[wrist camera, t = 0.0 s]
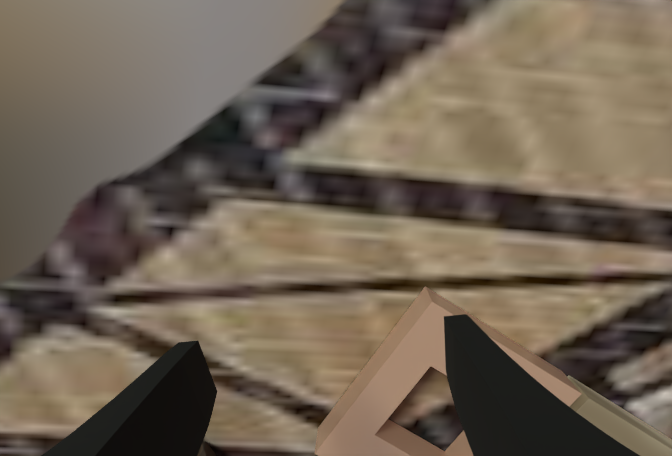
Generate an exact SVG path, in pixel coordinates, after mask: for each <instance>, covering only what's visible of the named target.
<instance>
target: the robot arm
mask: <svg viewBox="0 0 672 456" xmlns="http://www.w3.org/2000/svg"><path fill="white" fill-rule="evenodd" d="M444 334H445V361H446V374H447V378H448V382H449V386H450V390H451V393H452V397H453V401H454V405H455V408H456V411H457V413H458V416H459V419H460V422H461V424H462V427H463V429H464V432H465V435H466V437H467V440H468V443H469V445H470V448H471V451H472V453H473V456H640V455H638V454H637V453H635V452H634V451H632V450H630V449H629V448H627V447H626V446H624V445H622V444H621V443H619V442H618V441H616V440H615V439H613V438H612V437H610V436H609V435H608V434H606V433H605V432H603V431H602V430H600V429H599V428H597V427H596V426H595V425H593V424H592V423H590V422H589V421H588V420H586V419H585V418H584V417H582V416H581V415H579V414H578V413H577V412H575V411H574V410H573V409H571V408H570V407H569V406H568V405H566V404H565V403H564V402H562V401H561V400H560V399H559V398H557V397H556V396H555V395H554V394H552V393H551V392H550V391H549V390H548V389H546V388H545V387H544V386H543V385H541V384H540V383H539V382H538V381H537V380H536V379H534V378H533V377H532V376H531V375H530V374H529V373H527V372H526V371H525V370H524V369H523V368H522V367H521V366H520V365H519V364H517V363H516V362H515V361H514V360H513V359H512V358H511V357H510V356H509V355H507V354H506V353H505V352H504V351H503V350H502V349H501V348H500V347H499V346H498V345H497V344H496V343H495V342H494V341H493V340H492V339H491V338H490V337H489V336H488V335H487V334H486V333H485V332H484V331H483V330H482V329H481V328H480V327H479V326H478V325H477V324H476V323H475V322H474V321H473V320H472V319H471V318H470V317H469V316H468V315H467V314H463V315H452V316H444ZM216 394H217V390H216V387H215V384H214V382H213V379H212V376H211V374H210V371H209V368H208V366H207V363H206V360H205V358H204V355H203V352H202V350H201V347H200V344H199V342H198V341H190V342H180V343H178V344H176V345H175V346H174V347H172V348H171V349H170V350H169V351H168V352H166V353H165V354H164V355H163V356H162V357H161V358H159V359H158V360H157V361H156V362H155V363H154V364H153V365H151V366H150V367H149V368H148V369H147V370H146V371H145V372H144V373H142V374H141V375H140V376H139V377H138V378H137V379H136V380H134V381H133V382H132V383H131V384H130V385H129V386H128V387H126V388H125V389H124V390H123V391H122V392H121V393H120V394H118V395H117V396H116V397H115V398H114V399H113V400H111V401H110V402H109V403H108V404H107V405H105V406H104V407H103V408H102V409H101V410H99V411H98V412H97V413H96V414H94V415H93V416H92V417H91V418H90V419H88V420H87V421H86V422H85V423H84V424H82V425H81V426H80V427H79V428H77V429H76V430H75V431H74V432H72V433H71V434H70V435H69V436H67V437H66V438H65V439H63V440H62V441H61V442H59V443H58V444H57V445H56V446H54V447H53V448H52V449H50V450H49V451H47V452H46V453H45V454H43V455H42V456H197V455H198V452H199V450H200V447H201V444H202V442H203V439H204V437H205V434H206V431H207V428H208V425H209V422H210V418H211V414H212V411H213V407H214V402H215V398H216Z"/></svg>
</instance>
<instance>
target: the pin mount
mask: <svg viewBox="0 0 672 456" xmlns="http://www.w3.org/2000/svg"><path fill="white" fill-rule="evenodd" d="M567 377H568V379H569V380H570V381H571V382H572V383H573V384H574V385H575V387H576V388H577V389H578V390H579V391H580V392H581V393H582V394H581V395H580V396H579V397H578V398H577V399H576V400H575V401H574V402H573V404H572V405H571V406H570V408H571V409H573V410H574V411H575V412H577V413H578V414H579V415H581V416H582V417H584V418H585V419H586V420H588V421H589V422H590V423H592V424H593V425H595V426H596V427H597V428H599V429H600V430H602V431H603V432H605V433H606V434H608V435H609V436H610V437H612V438H613V439H615V440H616V441H618V442H619V443H621V444H622V445H624V446H626V447H627V448H629V449H630V450H632V451H634V452H635V453H637V454H638V455H640V456H672V439H671V438H669V437H667V436H666V435H664V434H663V433H661V432H659V431H658V430H656V429H654V428H653V427H651V426H650V425H648V424H646V423H645V422H643V421H642V420H640V419H638V418H637V417H635V416H633V415H632V414H630V413H629V412H627V411H625V410H624V409H622V408H621V407H619V406H617V405H616V404H614V403H613V402H611V401H609V400H608V399H606V398H604V397H603V396H601V395H600V394H598V393H596V392H595V391H593V390H592V389H590V388H588V387H587V386H585V385H584V384H582V383H580V382H579V381H577V380H575V379H574V378H572V377H571V376H569V375H568V376H567Z"/></svg>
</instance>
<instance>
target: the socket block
mask: <svg viewBox="0 0 672 456" xmlns="http://www.w3.org/2000/svg"><path fill="white" fill-rule="evenodd" d="M463 314H467V315H468V316H469V317H470V318H471V319H472V320H473V321H474V322H475V323H476V324H477V325H478V326H479V327H480V328H481V329H482V330H483V331H484V332H485V333H486V334H487V335H488V336H489V337H490V338H491V339H492V340H493V341H494V342H495V343H496V344H497V345H498V346H499V347H500V348H501V349H502V350H503V351H504V352H505V353H506V354H507V355H509V356H510V357H511V358H512V359H513V360H514V361H515V362H516V363H517V364H519V365H520V366H521V367H522V368H523V369H524V370H525V371H526V372H527V373H529V374H530V375H531V376H532V377H533V378H534V379H536V380H537V381H538V382H539V383H540V384H541V385H543V386H544V387H545V388H546V389H548V390H549V391H550V392H551V393H552V394H554V395H555V396H556V397H557V398H559V399H560V400H561V401H562V402H564V403H565V404H566V405H568V406H569V407H570V406H571V405H572V404H573V402H574V401H575V400H576V399H577V398H578V397H579V396H580V395H581V394H582V393H581V392H580V391H579V390H578V389H577V388H576V387H575V385H574V384H573V383H572V382H571V381H570V380H569V379H568V377H567V376H566V375H565V374H564V373H563V372H562V371H561V370H559V369H558V368H556V367H554V366H553V365H551V364H550V363H548V362H546V361H545V360H543V359H542V358H540V357H538V356H537V355H535V354H534V353H532V352H530V351H529V350H527V349H525V348H524V347H522V346H521V345H519V344H517V343H516V342H514V341H513V340H511V339H509V338H508V337H506V336H505V335H503V334H501V333H500V332H498V331H496V330H495V329H493V328H492V327H490V326H488V325H487V324H485V323H484V322H482V321H480V320H479V319H477V318H475V317H474V316H472V315H471V314H469V313H467V312H466V311H464V310H463V309H461V308H459V307H458V306H456V305H455V304H453V303H451V302H450V301H448V300H446V299H445V298H443V297H442V296H440V295H438V294H437V293H435V292H434V291H432V290H430V289H429V288H427V287H424V289H423V290H422V291H421V293H420V294H419V295H418V297H417V298H416V299H415V301H414V302H413V303H412V304H411V306H410V307H409V308H408V310H407V311H406V312H405V314H404V315H403V316H402V318H401V319H400V320H399V322H398V323H397V324H396V326H395V327H394V328H393V330H392V331H391V332H390V334H389V335H388V336H387V338H386V339H385V340H384V342H383V343H382V344H381V345H380V347H379V348H378V349H377V351H376V352H375V353H374V355H373V356H372V357H371V359H370V360H369V361H368V363H367V364H366V365H365V367H364V368H363V369H362V371H361V372H360V373H359V375H358V376H357V377H356V379H355V380H354V381H353V383H352V384H351V385H350V386H349V388H348V389H347V390H346V392H345V393H344V394H343V396H342V397H341V398H340V400H339V401H338V402H337V404H336V405H335V406H334V408H333V409H332V410H331V412H330V413H329V414H328V416H327V417H326V418H325V420H324V421H323V422H322V424H321V425H320V426H319V427H318V433H317V441H316V448H315V454H316V455H318V456H473V453H472V451H471V448H470V445H469V443H468V440H467V437H466V435H465V432H464V430H463V432H462V433H461V434H460V435H459V436H458V437H457V438H456V439H455V440H454V442H453V443H452V444H451V445H450V446H449V447H448V448H447V449H446V450H445V451H443V450H441V449H439V448H438V447H436V446H434V445H433V444H431V443H429V442H427V441H426V440H424V439H422V438H420V437H419V436H417V435H415V434H413V433H412V432H410V431H408V430H407V429H405V428H403V427H401V426H400V425H398V424H396V423H394V422H393V421H391V420H389V419H388V418H389V417H390V415H391V414H392V413H393V412H394V410H395V409H396V408H397V407H398V406H399V404H400V403H401V402H402V401H403V399H404V398H405V397H406V396H407V395H408V393H409V392H410V391H411V390H412V388H413V387H414V386H415V385H416V384H417V382H418V381H419V380H420V379H421V377H422V376H423V375H424V374H425V372H426V371H427V370H428V369H429V368H430V366H431V367H433V368H435V369H436V370H438V371H440V372H441V373H443V374H445V375H446V376H447V374H446V361H445V334H444V316H452V315H463Z"/></svg>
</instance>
